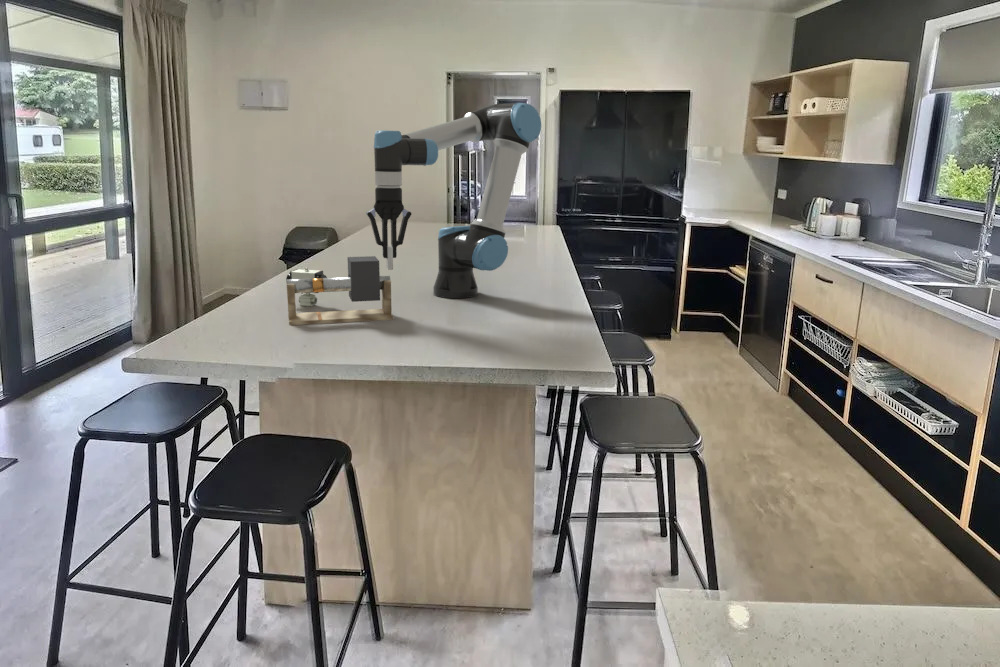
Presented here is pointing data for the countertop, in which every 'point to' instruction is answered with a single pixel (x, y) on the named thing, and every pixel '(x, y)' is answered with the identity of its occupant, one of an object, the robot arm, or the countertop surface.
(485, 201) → the robot arm
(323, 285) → the pipe
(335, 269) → the countertop surface
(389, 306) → the pipe rig
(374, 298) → the collar
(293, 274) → the pneumatic valve
